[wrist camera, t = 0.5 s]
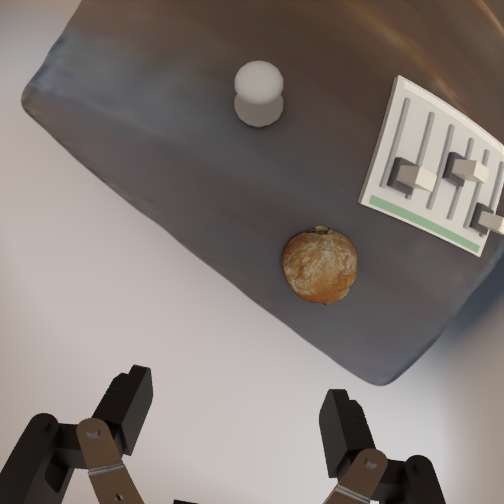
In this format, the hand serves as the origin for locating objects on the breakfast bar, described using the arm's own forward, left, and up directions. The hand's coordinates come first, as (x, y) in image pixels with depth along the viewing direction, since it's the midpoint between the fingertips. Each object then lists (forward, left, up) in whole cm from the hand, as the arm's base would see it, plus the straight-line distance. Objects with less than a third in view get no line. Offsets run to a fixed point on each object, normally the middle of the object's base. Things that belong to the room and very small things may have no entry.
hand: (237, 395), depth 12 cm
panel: (-18, +24, -29) cm, 42 cm away
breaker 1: (-14, +16, -27) cm, 34 cm away
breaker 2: (-19, +24, -27) cm, 41 cm away
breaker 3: (-14, +32, -27) cm, 44 cm away
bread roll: (+1, +10, -29) cm, 31 cm away
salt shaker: (-16, -4, -29) cm, 33 cm away
